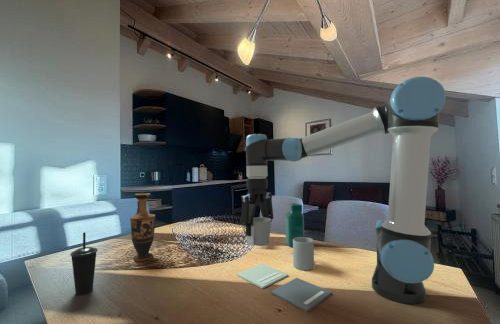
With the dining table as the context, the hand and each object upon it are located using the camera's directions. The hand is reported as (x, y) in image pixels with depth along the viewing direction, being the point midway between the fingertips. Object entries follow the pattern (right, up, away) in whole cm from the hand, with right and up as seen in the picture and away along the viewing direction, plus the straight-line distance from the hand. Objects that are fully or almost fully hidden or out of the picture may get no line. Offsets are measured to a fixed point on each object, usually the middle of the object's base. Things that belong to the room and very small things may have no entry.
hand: (258, 242), depth 85 cm
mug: (+20, -15, +16) cm, 30 cm away
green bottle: (+21, -16, +42) cm, 49 cm away
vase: (-53, -16, +26) cm, 61 cm away
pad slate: (+14, -14, -7) cm, 21 cm away
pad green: (+2, -15, +6) cm, 16 cm away
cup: (0, 0, -1) cm, 1 cm away
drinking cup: (-60, -16, -3) cm, 62 cm away
